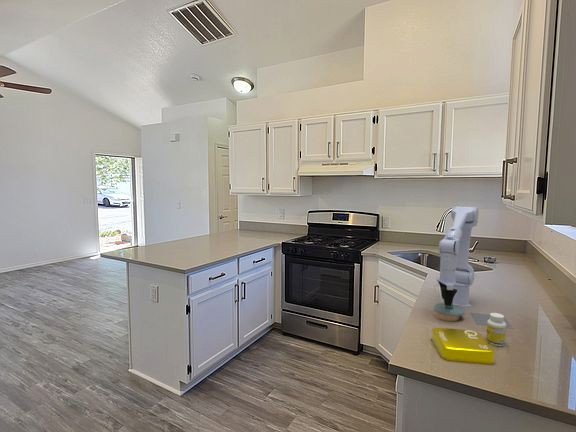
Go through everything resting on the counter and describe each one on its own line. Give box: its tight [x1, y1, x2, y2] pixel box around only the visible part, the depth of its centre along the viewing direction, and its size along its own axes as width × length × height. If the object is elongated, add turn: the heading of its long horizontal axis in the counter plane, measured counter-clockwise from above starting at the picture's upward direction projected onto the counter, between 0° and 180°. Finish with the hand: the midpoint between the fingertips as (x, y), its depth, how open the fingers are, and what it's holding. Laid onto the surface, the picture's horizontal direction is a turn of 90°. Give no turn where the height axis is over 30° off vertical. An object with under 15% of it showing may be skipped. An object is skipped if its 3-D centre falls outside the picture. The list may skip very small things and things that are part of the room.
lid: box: [433, 301, 465, 317], centre depth 129 cm, size 11×11×6 cm
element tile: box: [431, 327, 495, 365], centre depth 104 cm, size 15×15×5 cm
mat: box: [470, 312, 515, 330], centre depth 126 cm, size 12×12×1 cm
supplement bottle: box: [486, 312, 507, 347], centre depth 108 cm, size 5×5×10 cm
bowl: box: [432, 309, 460, 322], centre depth 130 cm, size 9×9×3 cm
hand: (446, 302), depth 129 cm, fingers open, 7 cm apart
